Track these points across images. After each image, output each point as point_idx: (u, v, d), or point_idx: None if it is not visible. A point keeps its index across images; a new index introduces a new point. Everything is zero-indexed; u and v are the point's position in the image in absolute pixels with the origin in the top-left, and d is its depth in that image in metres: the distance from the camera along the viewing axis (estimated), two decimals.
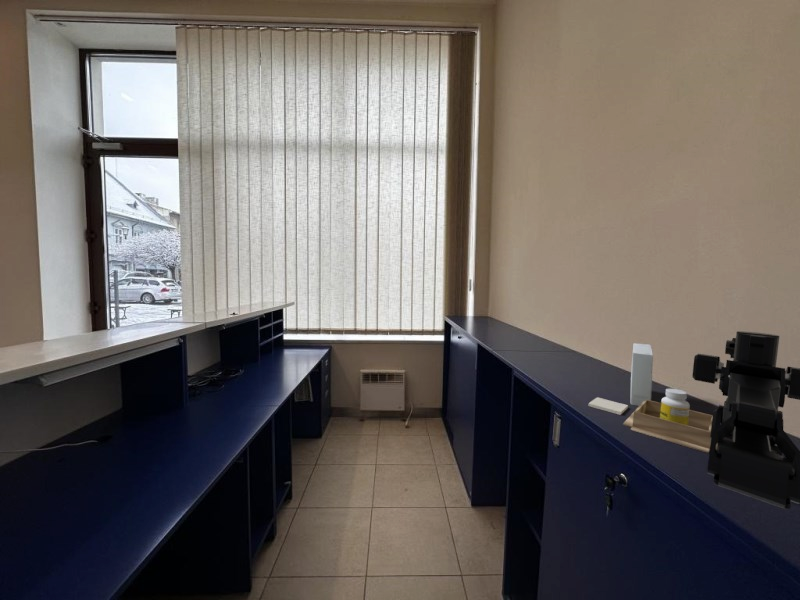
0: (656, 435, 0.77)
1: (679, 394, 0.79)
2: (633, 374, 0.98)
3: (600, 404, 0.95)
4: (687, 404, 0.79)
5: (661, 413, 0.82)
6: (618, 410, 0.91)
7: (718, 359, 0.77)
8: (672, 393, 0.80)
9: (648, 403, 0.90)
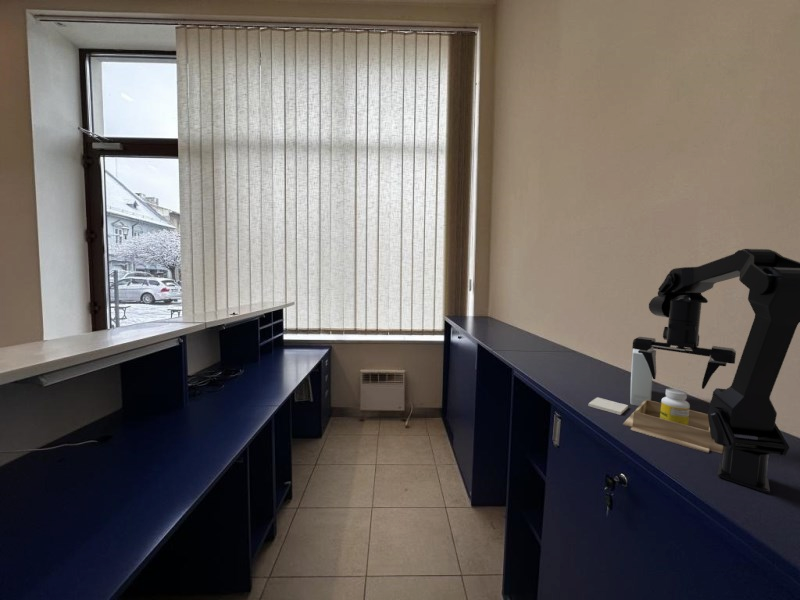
0: (656, 435, 0.77)
1: (679, 394, 0.79)
2: (633, 374, 0.98)
3: (600, 404, 0.95)
4: (687, 404, 0.79)
5: (661, 413, 0.82)
6: (618, 410, 0.91)
7: (655, 350, 0.86)
8: (672, 393, 0.80)
9: (648, 403, 0.90)
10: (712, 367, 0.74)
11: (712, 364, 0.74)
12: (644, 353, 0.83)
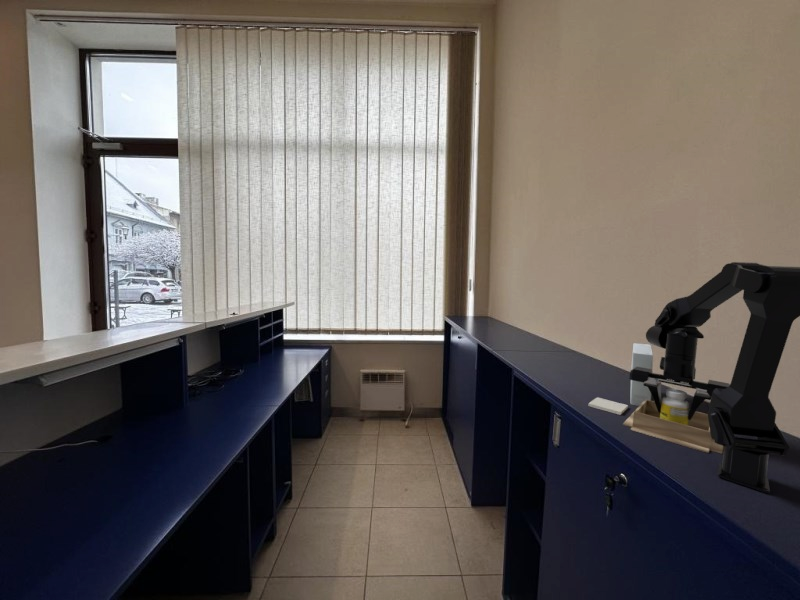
0: (656, 435, 0.77)
1: (679, 394, 0.79)
2: None
3: (600, 404, 0.95)
4: (687, 404, 0.79)
5: (661, 413, 0.82)
6: (618, 410, 0.91)
7: (660, 383, 0.85)
8: (672, 393, 0.80)
9: (648, 403, 0.90)
10: (698, 400, 0.76)
11: (698, 397, 0.76)
12: (649, 386, 0.82)
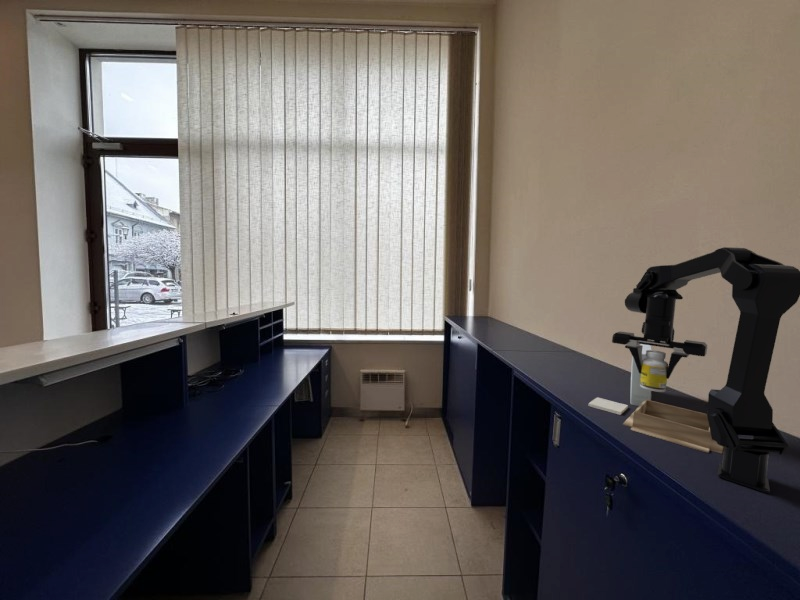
0: (656, 435, 0.77)
1: (658, 354, 0.83)
2: (633, 374, 0.98)
3: (600, 404, 0.95)
4: (665, 363, 0.83)
5: (641, 373, 0.86)
6: (618, 410, 0.91)
7: (641, 345, 0.89)
8: (652, 353, 0.84)
9: (648, 403, 0.90)
10: (675, 358, 0.80)
11: (675, 355, 0.80)
12: (630, 348, 0.86)
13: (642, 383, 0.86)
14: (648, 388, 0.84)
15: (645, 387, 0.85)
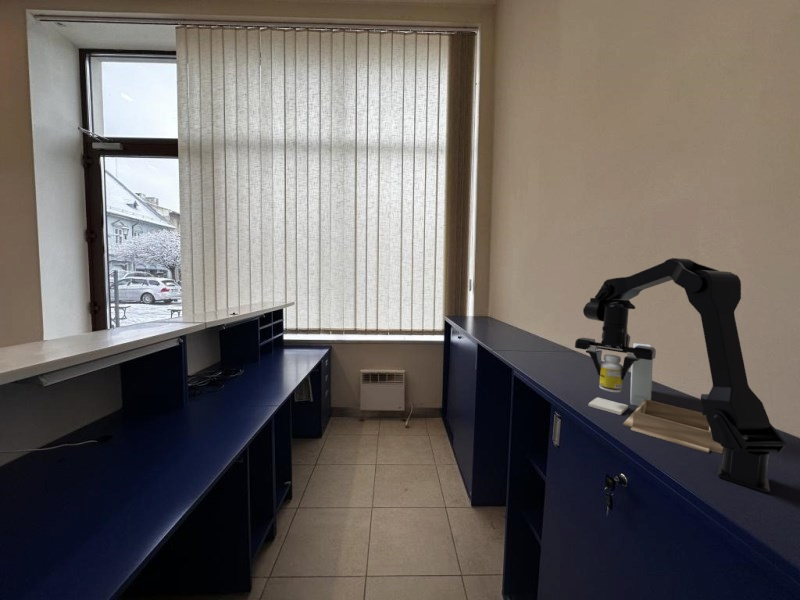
0: (656, 435, 0.77)
1: (614, 358, 0.92)
2: (633, 374, 0.98)
3: (600, 404, 0.95)
4: (620, 366, 0.92)
5: (600, 375, 0.95)
6: (618, 410, 0.91)
7: (601, 350, 0.98)
8: (608, 357, 0.93)
9: (648, 403, 0.90)
10: (627, 361, 0.89)
11: (627, 359, 0.89)
12: (590, 353, 0.96)
13: (600, 384, 0.95)
14: (605, 389, 0.93)
15: (603, 388, 0.94)
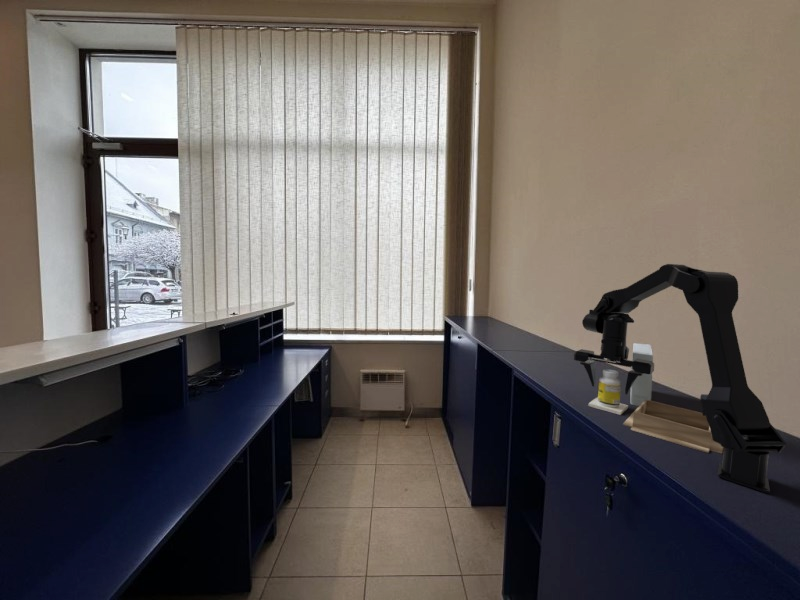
0: (656, 435, 0.77)
1: (612, 373, 0.93)
2: None
3: (600, 404, 0.95)
4: (618, 382, 0.92)
5: (598, 390, 0.96)
6: (618, 410, 0.91)
7: (595, 362, 0.99)
8: (606, 372, 0.93)
9: (648, 403, 0.90)
10: (631, 376, 0.89)
11: (631, 374, 0.89)
12: (584, 364, 0.97)
13: (599, 399, 0.95)
14: (604, 404, 0.94)
15: (601, 403, 0.94)
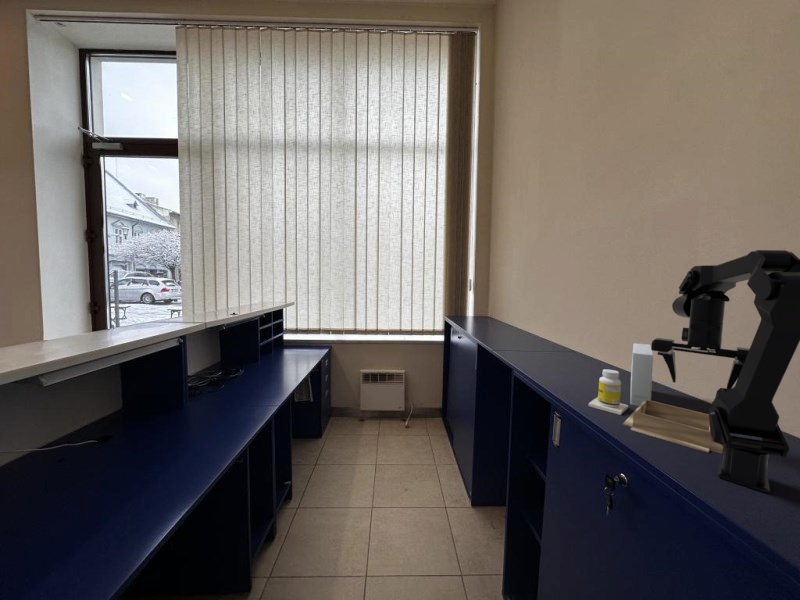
0: (656, 435, 0.77)
1: (612, 373, 0.93)
2: (633, 374, 0.98)
3: (600, 404, 0.95)
4: (618, 382, 0.92)
5: (598, 390, 0.96)
6: (618, 410, 0.91)
7: (674, 352, 0.82)
8: (606, 372, 0.93)
9: (648, 403, 0.90)
10: (739, 369, 0.70)
11: (739, 366, 0.70)
12: (664, 355, 0.79)
13: (599, 399, 0.95)
14: (604, 404, 0.94)
15: (601, 403, 0.94)
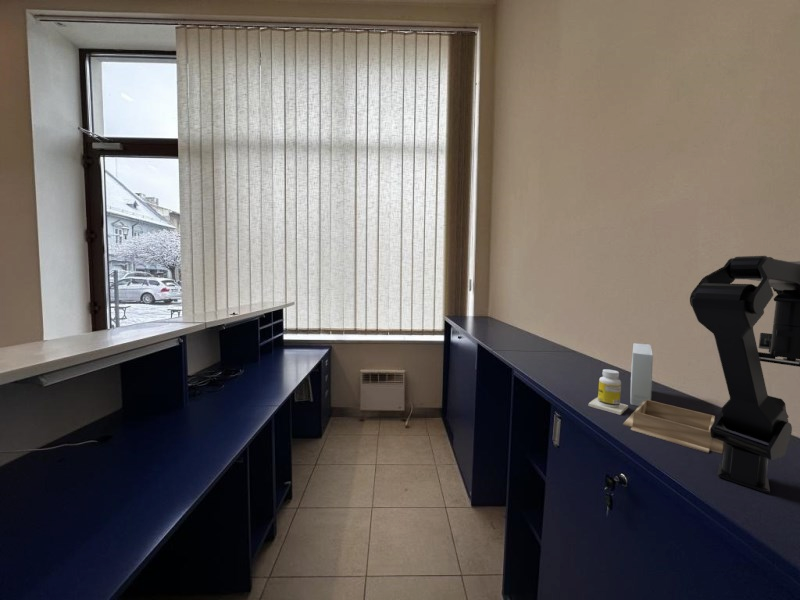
0: (656, 435, 0.77)
1: (612, 373, 0.93)
2: (633, 374, 0.98)
3: (600, 404, 0.95)
4: (619, 382, 0.92)
5: (598, 390, 0.96)
6: (618, 410, 0.91)
7: None
8: (606, 372, 0.93)
9: (648, 403, 0.90)
10: None
11: None
12: None
13: (599, 399, 0.95)
14: (604, 404, 0.94)
15: (601, 403, 0.94)
